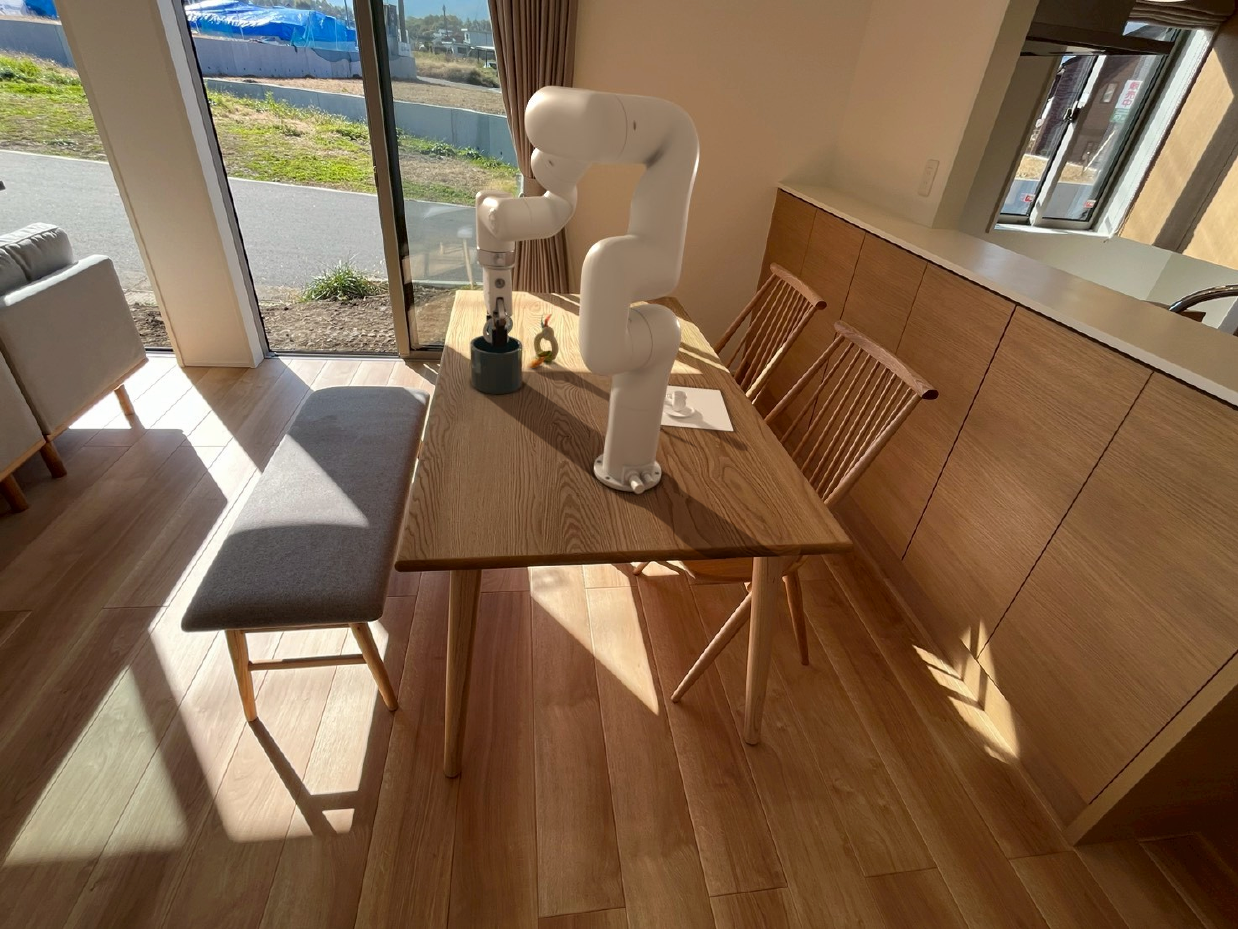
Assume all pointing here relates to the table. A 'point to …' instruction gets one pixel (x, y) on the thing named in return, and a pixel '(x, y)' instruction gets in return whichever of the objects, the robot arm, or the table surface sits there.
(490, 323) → the pacifier
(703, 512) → the table surface
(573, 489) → the table surface
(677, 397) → the teacup and saucer
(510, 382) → the cup
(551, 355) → the rattle
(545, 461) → the table surface
